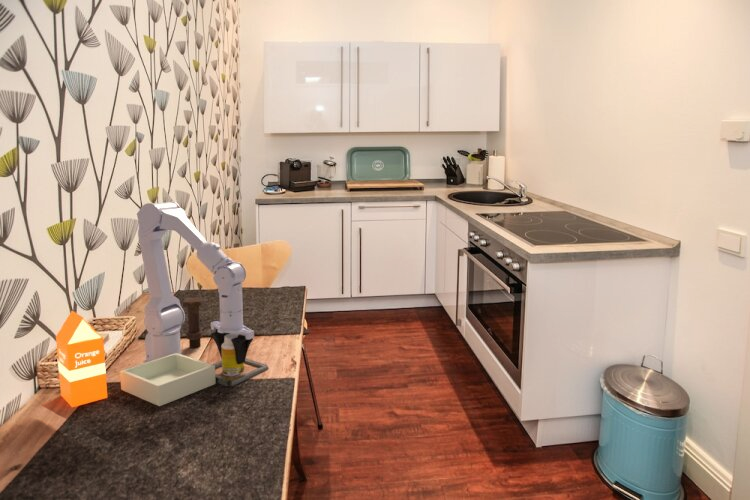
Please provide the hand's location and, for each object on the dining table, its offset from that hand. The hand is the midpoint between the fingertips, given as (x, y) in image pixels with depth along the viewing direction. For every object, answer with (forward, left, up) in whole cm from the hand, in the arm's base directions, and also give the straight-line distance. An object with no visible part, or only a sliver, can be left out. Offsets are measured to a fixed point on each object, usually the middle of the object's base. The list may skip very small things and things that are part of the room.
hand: (232, 360), depth 139 cm
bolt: (-24, +6, -4) cm, 25 cm away
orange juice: (-17, -30, -4) cm, 35 cm away
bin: (-6, -15, -3) cm, 17 cm away
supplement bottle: (0, 0, -4) cm, 4 cm away
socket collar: (0, 0, -3) cm, 3 cm away
